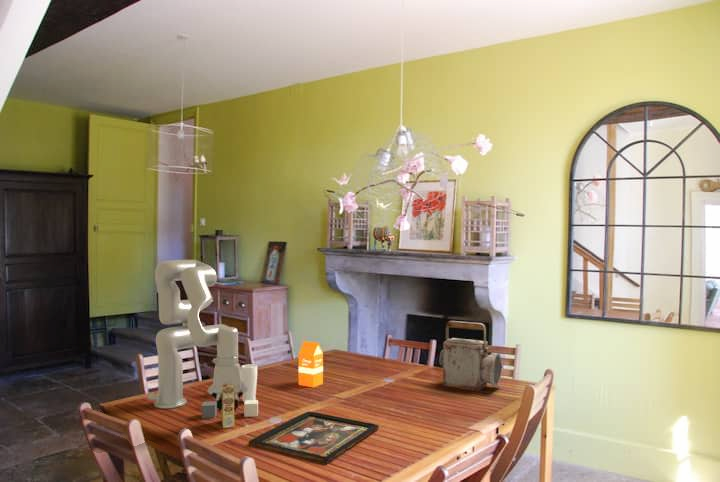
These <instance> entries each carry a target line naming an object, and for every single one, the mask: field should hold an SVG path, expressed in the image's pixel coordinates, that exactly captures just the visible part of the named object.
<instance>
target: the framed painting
mask: <svg viewBox="0 0 720 482" xmlns="http://www.w3.org/2000/svg"><path fill="white" fill-rule="evenodd" d="M379 428H380V427H379V425H378V424H376V423H370V422H365V421H362V420H361V421H359V420H355V419H350V418H347V417H345V418H344V417H340V416H334V415H329V414H325V413H319V412H315V411H306V412H304V413H302V414H299V415H297V416H296V417H294V418H292V419H289V420H288V421H287V420H286V422H283V423H281V424H279V425H278V426H275V427H274V428H272V429H269V430H268V431H265V432H263V433H261V434H259V435H258V436H255V437H253V438H252V439H250V440H249V441H248V445H249V446H250V447H254V448H257V449H258V448H259V449H263V450H266V451H269V452H270V451H271V452H273V453H279V454H283V455H286V456H290V457H295V458H298V459H304V460H307V461H311V462H315V463H318V464H322V465H328V464H330V463H332V461H334V460H335V459H337V458H338V457H340V456H341V455H342V454H344V453H346V452H348V451H349V450H350V449H351V448H353V447H354V446H356V445H357V444H359V443H360V442H362V441H363V440H365V439H366V438H368V437H369V436H372V434H374V433H376V432H377V431H378V430H379Z"/></svg>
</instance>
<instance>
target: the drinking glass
mask: <svg viewBox="0 0 720 482" xmlns="http://www.w3.org/2000/svg"><path fill="white" fill-rule="evenodd" d="M240 368H241V377H242V382H243V383H244V385H245V386H246V387H247V388H248V390H247V391H246V392H245V393H244V394H243V395H242V402H243V403H245V400H257V398H256V396H257V382H258V365H257V364H253V363H252V364H251V363H250V364H249V363H248V364H243V365H240ZM242 390H243V389H242V388H241V391H242Z"/></svg>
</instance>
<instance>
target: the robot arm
mask: <svg viewBox="0 0 720 482" xmlns="http://www.w3.org/2000/svg"><path fill="white" fill-rule="evenodd" d="M217 276H218V275H217V272H216V270H215V269H214V268H213V267H212V266H211V265H209V264H206V263H204V262H202V261H199V260H197V259H172V260H164V261H162V262H160V263H158V264H157V266H156V268H155V271H154V278H155V279H154V280H155V283H156V287H157V293H158V296H157V297H158V317H159V321H160V323H161V324H162V325H166V326H167V325H176V324H182V325H181V326H174V327H168V328H167V327H166V328H163V329H160V330H159V331H158V332H157V334H156V335H155V336H156V337H155V346H156V350H157V359H158V360H157V361H158V362H157V364H158V365H157V366H158V367H157V369H158V370H157V371H158V372H157V375H158V376H157V378H158V380H157V381H158V385H157V387H158V390H157V391H158V392H157V393H156V394H147V401H149V402H151V401H153V402H154V403H153V406H154V407H155V408H157V409H174V408H179V407H182V406H185V405H186V404H187V399H186V398H185V397H183V396H184V395H183V393H184V392H183V391H184V390H183V389H184V388H183V381H184V380H183V378H184V377H183V376H184V375H183V374H184V373H183V371H184V370H183V369H184V368H183V366H184V363H183V358H182V357H181V355H180V353H179V352H178V351H180V350H185V349H190V348H193V347H195V346H196V347H199V348H205V347H206V348H207V347H212V346H217V349H216V351H217V352H216V357H214V358H213V360H212V361H213V362H215V363H216V364H214V370H213V379H212V384H211V385H210V386H209V388H208V389H207V390H206V391H207V393H208V394H209V395H211V396H212V397H213V398H214V399H215V401H217V409H218V412H221V393H223V385H234V412H236V411H237V409H238V408H239V399H240V398H241V397H243V394H244V393H245V392H246V391H247V390H248V388H247V387H246V386H245V385H244V383H243V382H242V377H241V364H240V363H239V331H238V328H236V327H233V326H229V325H226V324H223V323H222V324H221V323H219V324H212V325H205V326H203V325H202V323H201V320H200V316H199V315H200V311H203V310H204V309H205V308H207V307H209V306H210V305H211V304H212V303H213V295H212V293H211V290H210V289H209V287H213V286H214V285H216V284H217V280H218V277H217ZM175 281H176V282H177V281H181V284H182V285H183V290H184V292H185V293H186V296H187V299H181V290H180V287H179V286H178V285H177V283H176V282H175ZM213 362H212V363H213ZM242 389H243V390H242Z"/></svg>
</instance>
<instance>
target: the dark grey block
mask: <svg viewBox="0 0 720 482" xmlns="http://www.w3.org/2000/svg"><path fill="white" fill-rule="evenodd" d="M217 409H218V408H217V400H215V401H203V402H202V404H201V419H216V417H217V413H218V410H217Z"/></svg>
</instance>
